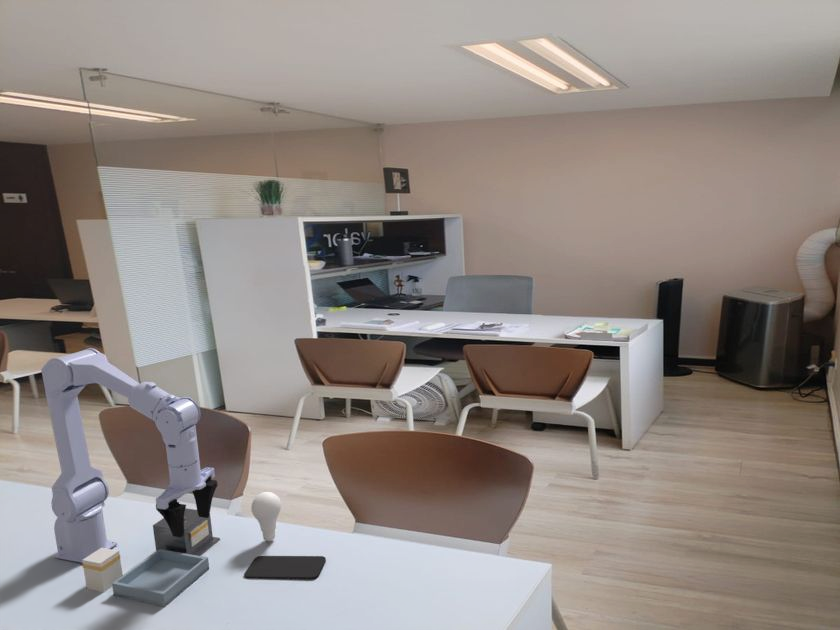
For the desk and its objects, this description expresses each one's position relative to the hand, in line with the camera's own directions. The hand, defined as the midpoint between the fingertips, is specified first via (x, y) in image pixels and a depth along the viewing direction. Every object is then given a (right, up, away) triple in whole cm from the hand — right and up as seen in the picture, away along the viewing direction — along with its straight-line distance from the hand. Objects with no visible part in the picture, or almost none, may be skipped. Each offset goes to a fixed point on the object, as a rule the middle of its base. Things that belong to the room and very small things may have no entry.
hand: (191, 526), depth 121 cm
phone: (+19, -9, 0) cm, 21 cm away
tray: (-5, -10, -3) cm, 11 cm away
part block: (-16, -11, -2) cm, 19 cm away
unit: (-5, -8, +9) cm, 13 cm away
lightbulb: (+13, -7, +10) cm, 18 cm away
